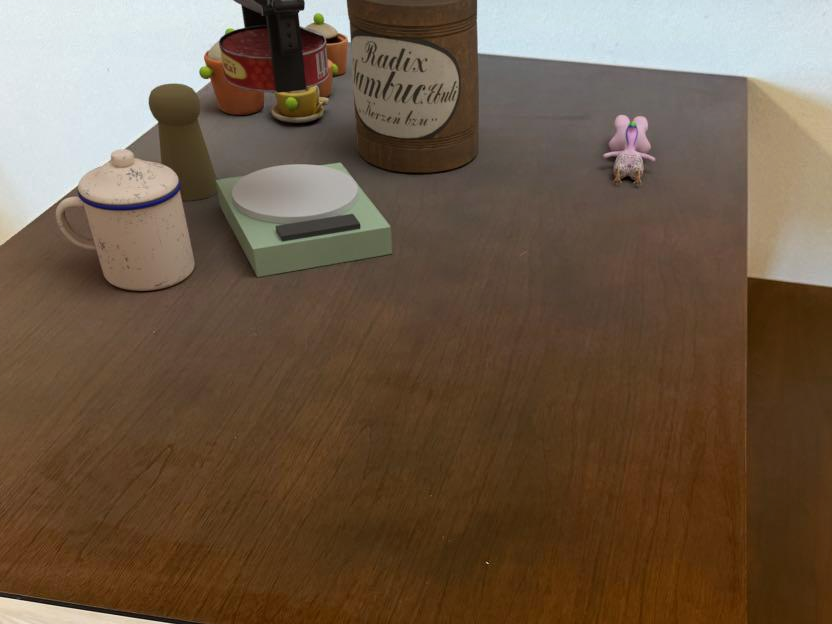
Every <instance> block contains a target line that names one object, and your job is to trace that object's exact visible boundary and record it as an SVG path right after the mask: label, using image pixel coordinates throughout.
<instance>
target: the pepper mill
mask: <svg viewBox="0 0 832 624" xmlns="http://www.w3.org/2000/svg"><path fill="white" fill-rule="evenodd" d="M148 107H149V110H150V112H151V115H152V116H153V118H154V119H155V120H156V121H157V127H158V138H159V151H160V164H163V165H165V166H167V167H169V168H171V169H172V170H173V171H174V172H175V173H176V174H177V176H178V178H179V179H180V182H181V188H180V195H181V199H182V202H183V201H185V202H187V201H199V200H205V199H207V198H209V197H212V196H214V195H215V194H217V193H218V192H217V187H216V181H215V180H218V179H217V176H216V172H215V170H214V166H213V163H212V160H211V157H210V154H209V151H208V147H207V145H206V141H205V138H204V134H203V132H202V128H201V126H200V125H201V124H200V122H199V119H198V118H199V116H200V113H201V100H200V98H199V96H198V93H197V92H196V91H195V89H193V87H191V86H189V85H187V84H184V83H164V84H160V85H157V86H156V87H154V88H153V89H152V90H151V91H150V93H149V96H148Z"/></svg>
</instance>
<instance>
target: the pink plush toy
mask: <svg viewBox="0 0 832 624" xmlns="http://www.w3.org/2000/svg"><path fill="white" fill-rule="evenodd" d="M613 127H614V131H615V134H614V135H613V137H612V138H611V139H610V140H609V142H608V148H609V150H610V152H605V153H604V154H603V155H602V156H603V158H604V159H608V158H610V157H613V158H614V157H615V161H614V162H613V163H614V164H613V169H612V171H613V176H614V177H615V178H614V179H613V183H615V182H616V183H615V185H616V184H617V185H618V182H620V184H621V183H623V182H622V179H624V178H625V177H629V178H630V179H632V180H633V181H634V182H633V184H635V183H636V184H639V183H640V184H642V180H641V178H642V177H643V174H644V160H648V161H650V162H651V163H654V162H655V161H656V158H655V157H654V156H652V155H650V154H648V153H649V152H650V151H651V148H652V147H651V143H650V141H649V140H648V138H647V135H646V133H647V131H648V129H649V122H648V119H647V118H646V117H645V116H642V115H638V116H635V117H634V118H633V120H632V121H630V117H628V116H627V115H625V114H619V115H617V116H616V118H615V120H614V124H613Z"/></svg>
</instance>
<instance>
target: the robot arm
mask: <svg viewBox="0 0 832 624" xmlns="http://www.w3.org/2000/svg"><path fill="white" fill-rule="evenodd" d="M254 1H255V2H257V3H258V4H260V5H261V6H262V7H261V10H260V11H261V14H260V13H258V12H255V11H253V10H250V9H248V8H246V7H244V6H243V5H241V4H240V5H241V13H242V20H243V28H246V27H252V26H261V25H267V28H268V35H269V43H270V51H271V58H272V66H273V74H274V81H275V89H276V91H277V93H281V92H290V91H299V90H307V88H306V79H305V70H304V61H303V51H302V42H301V33H300V26H301V25H300V16H299V15H300V14H299V13H300V12H302V11H305V8H306V7H305V6H306V3H305V0H254Z"/></svg>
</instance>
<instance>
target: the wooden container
mask: <svg viewBox="0 0 832 624" xmlns="http://www.w3.org/2000/svg"><path fill="white" fill-rule="evenodd" d="M346 7H347V16H348V20H349V33H350V34H349V35H350V51H351V54H350V55H351V68H352V69H351V70H352V71H351V72H352V88H353V89H352V90H353V91H352V92H353V105H354V116H355V121H356V122H355V130H356V138H357V139H356V140H357V149H358V153H359V155H360V156H361V157H362V159H363V160H364V161H366V162H368V163H369V164H370V165H371V164H372V165H373V166H375V167H377V168H381V169H384V170H388V171H391V172H398V173H405V174H431V173H441V172H444V171H445V172H446V171H451V170H454V169H457V168H459V167H462V166H464V165H466V164H468V163H470V162H471V161H472V160H473V159H475V157H476V156H477V155H478V154H479V153H478V152H479V130H480V129H479V128H480V127H479V125H480V124H479V123H480V121H479V120H480V119H479V118H480V105H479V104H480V90H479V89H480V85H479V81H480V80H479V79H480V78H479V77H480V76H479V49H478V48H479V45H478V44H479V40H478V0H346Z"/></svg>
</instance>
